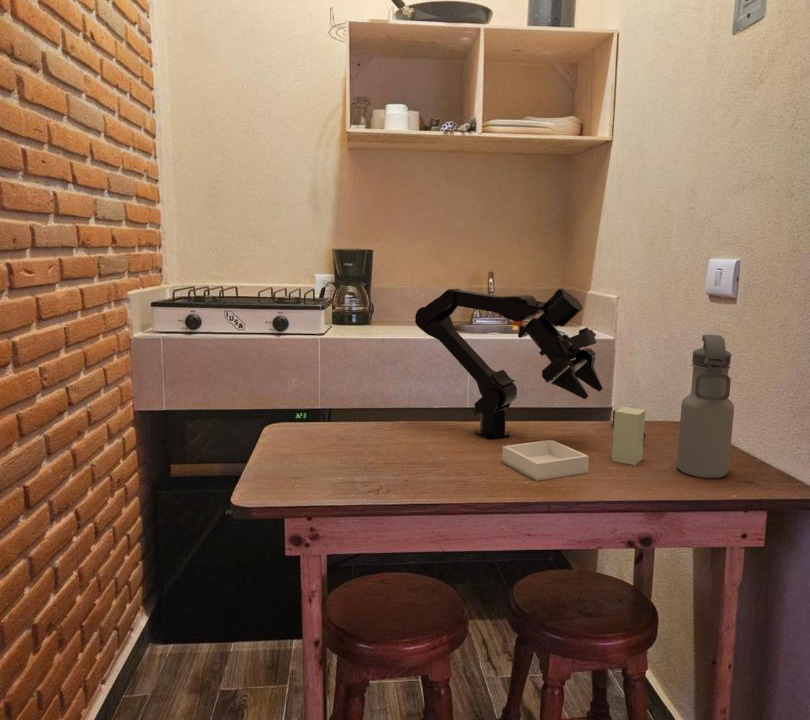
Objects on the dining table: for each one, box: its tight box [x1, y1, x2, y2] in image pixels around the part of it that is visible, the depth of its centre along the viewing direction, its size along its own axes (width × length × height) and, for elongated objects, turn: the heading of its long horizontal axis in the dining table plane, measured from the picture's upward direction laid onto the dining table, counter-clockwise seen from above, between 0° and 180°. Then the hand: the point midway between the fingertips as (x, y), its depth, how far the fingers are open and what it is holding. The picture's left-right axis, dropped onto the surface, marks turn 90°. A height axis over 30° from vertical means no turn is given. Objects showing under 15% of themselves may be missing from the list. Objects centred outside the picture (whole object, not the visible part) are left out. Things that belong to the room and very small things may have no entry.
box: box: [501, 439, 590, 482], centre depth 140 cm, size 13×13×4 cm
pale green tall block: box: [611, 406, 646, 466], centre depth 144 cm, size 5×5×11 cm
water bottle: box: [676, 334, 735, 479], centre depth 135 cm, size 10×10×28 cm
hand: (594, 393), depth 147 cm, fingers open, 9 cm apart
